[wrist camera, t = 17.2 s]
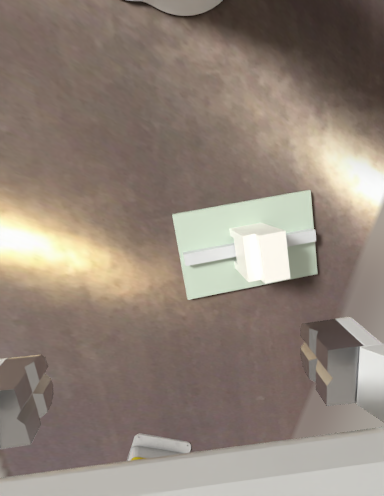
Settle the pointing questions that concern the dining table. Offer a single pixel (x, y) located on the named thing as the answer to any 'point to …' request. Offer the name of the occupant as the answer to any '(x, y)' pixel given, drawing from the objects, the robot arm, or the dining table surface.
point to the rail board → (222, 244)
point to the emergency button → (156, 447)
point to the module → (261, 252)
